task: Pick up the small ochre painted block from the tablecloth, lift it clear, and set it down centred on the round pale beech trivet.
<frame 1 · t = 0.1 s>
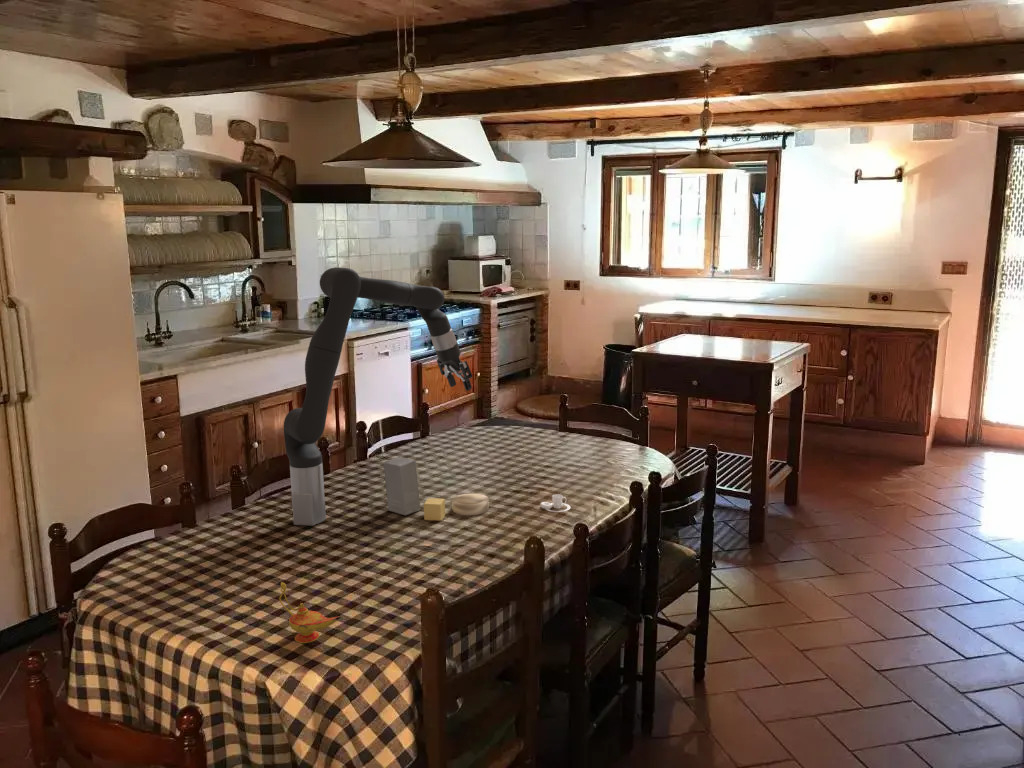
hand: (461, 387, 270), 31 cm above the table, tool tilted 20°, fingers open, 8 cm apart
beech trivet: (470, 508, 248), on the table
magic lamp: (313, 639, 172), on the table
ochre block: (434, 517, 242), on the table
teacup and saucer: (552, 506, 251), on the table
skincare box: (403, 511, 247), on the table
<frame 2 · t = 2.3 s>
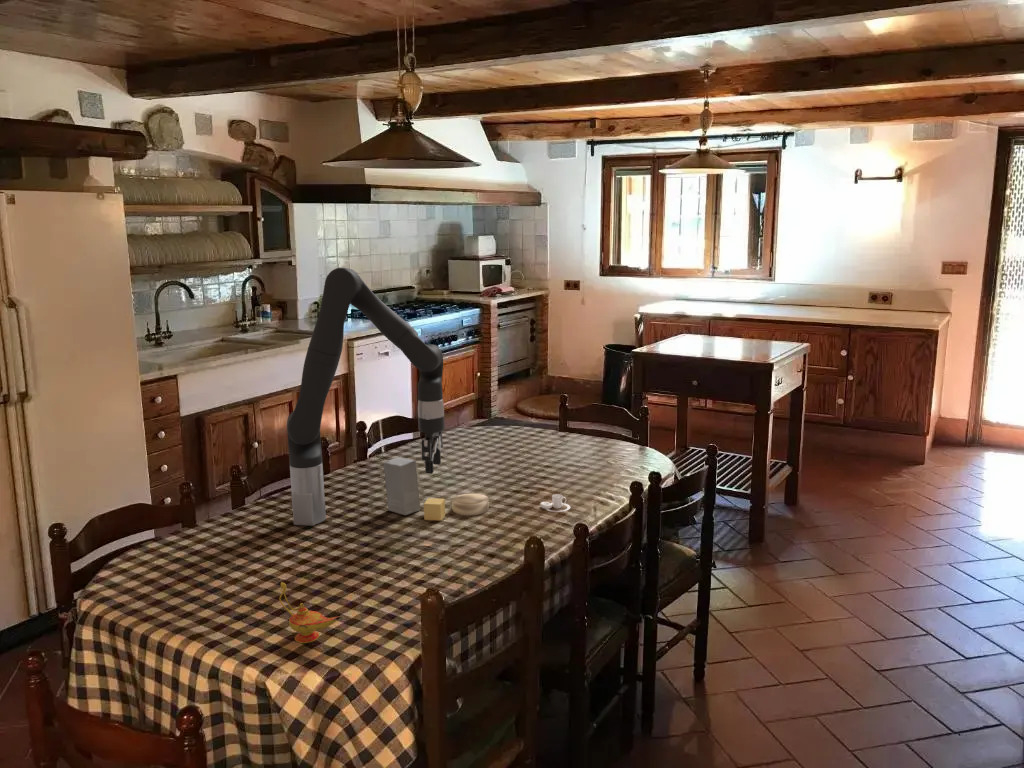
hand: (433, 468, 239), 15 cm above the table, tool pointing down, fingers open, 8 cm apart
nothing on the table moved.
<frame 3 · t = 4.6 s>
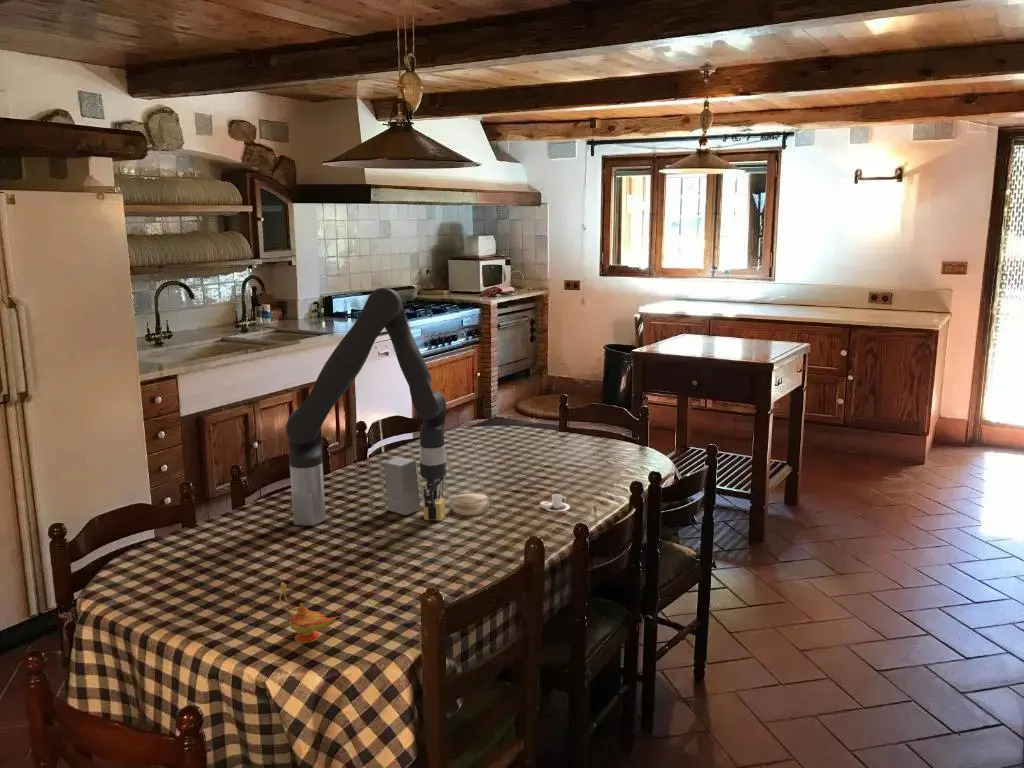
hand: (434, 515, 242), 0 cm above the table, tool pointing down, fingers closed on ochre block, 5 cm apart
ochre block: (434, 517, 242), on the table, touching gripper
everything else where it was.
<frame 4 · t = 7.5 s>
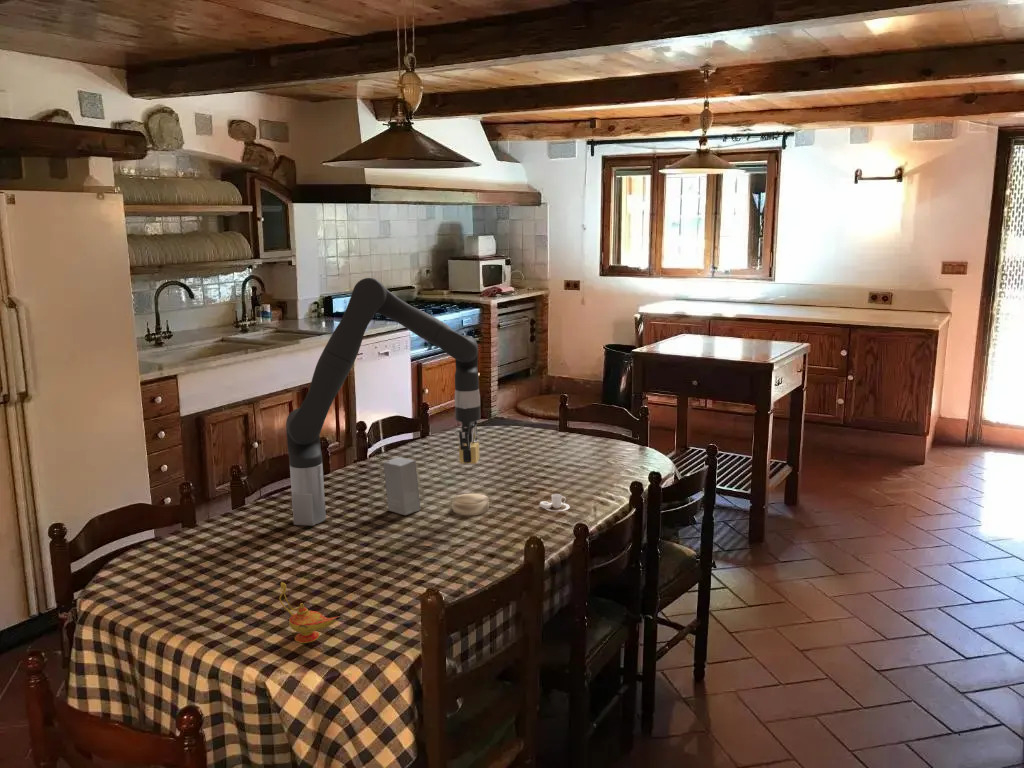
hand: (469, 459, 245), 16 cm above the table, tool pointing down, fingers closed on ochre block, 5 cm apart
ochre block: (469, 460, 245), point 15 cm above the table, touching gripper
everything else where it was.
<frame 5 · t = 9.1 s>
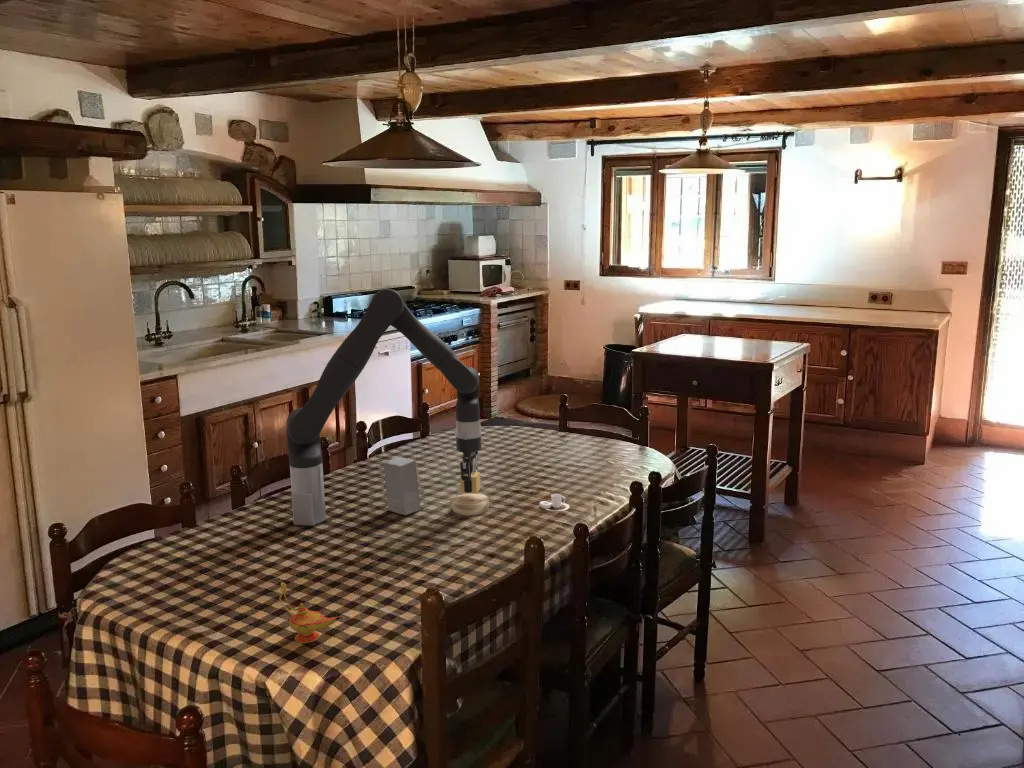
hand: (470, 488, 247), 6 cm above the table, tool pointing down, fingers closed on ochre block, 5 cm apart
ochre block: (470, 490, 247), point 6 cm above the table, touching gripper
everything else where it was.
when the fingers open (4 cm above the table, at t = 10.4 s): ochre block stays where it is, resting on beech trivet.
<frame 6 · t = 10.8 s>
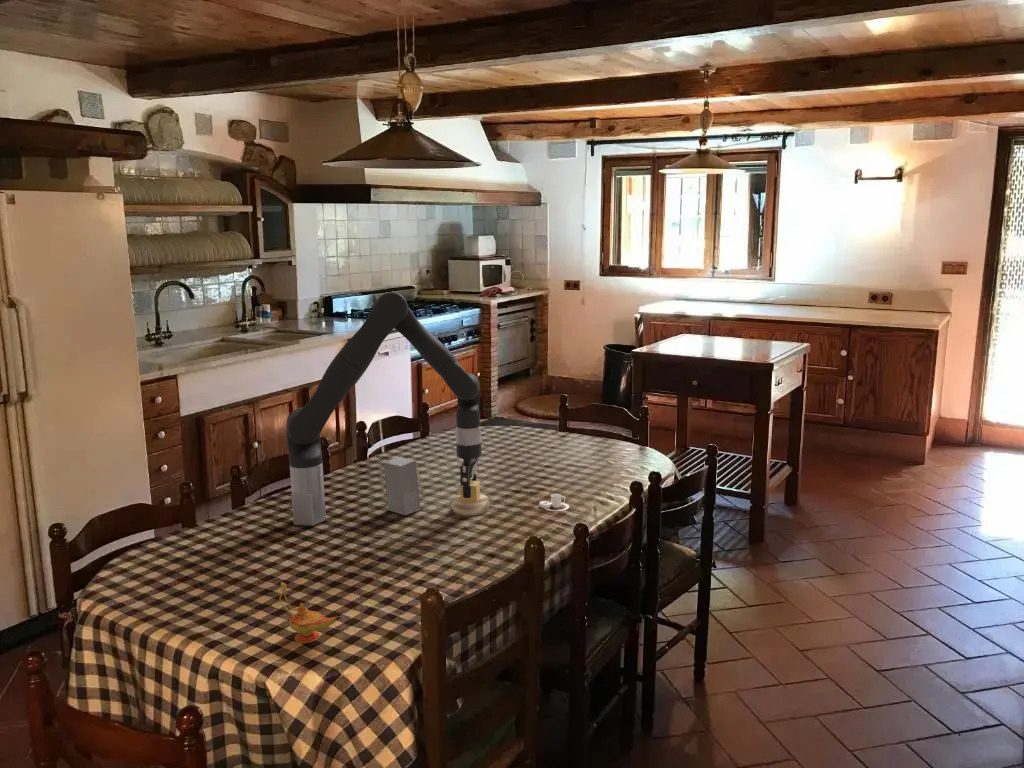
hand: (470, 492, 247), 5 cm above the table, tool pointing down, fingers open, 8 cm apart
ochre block: (470, 498, 247), point 3 cm above the table, touching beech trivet
everything else where it was.
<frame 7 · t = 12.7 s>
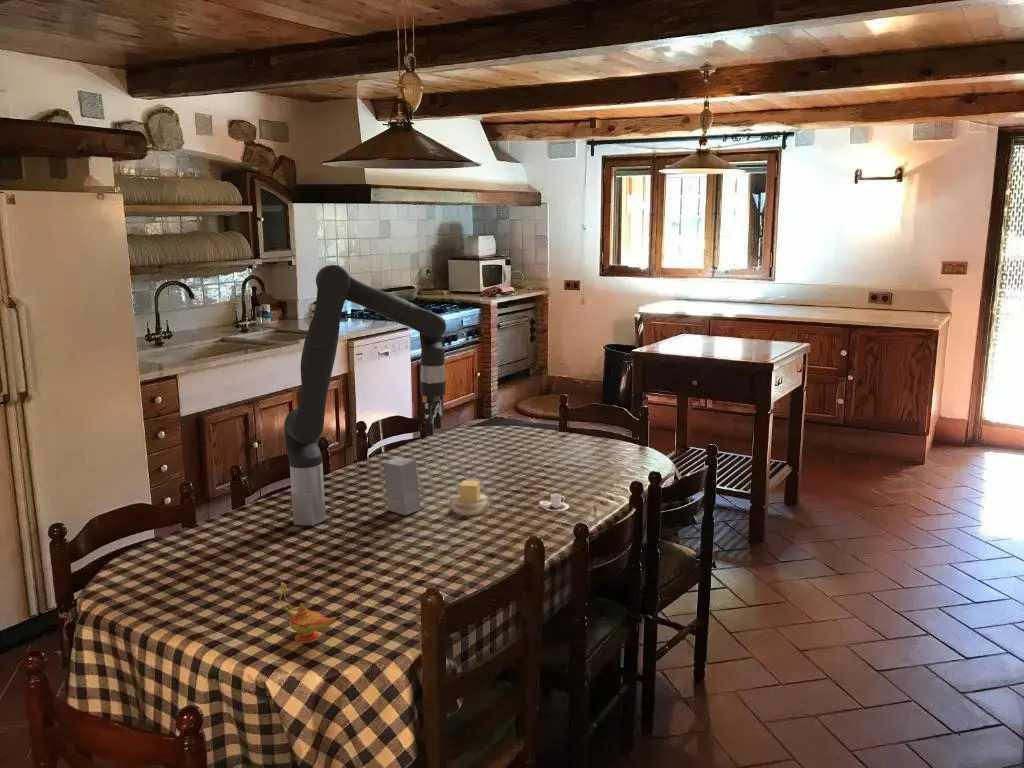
hand: (433, 431, 249), 23 cm above the table, tool pointing down, fingers open, 8 cm apart
nothing on the table moved.
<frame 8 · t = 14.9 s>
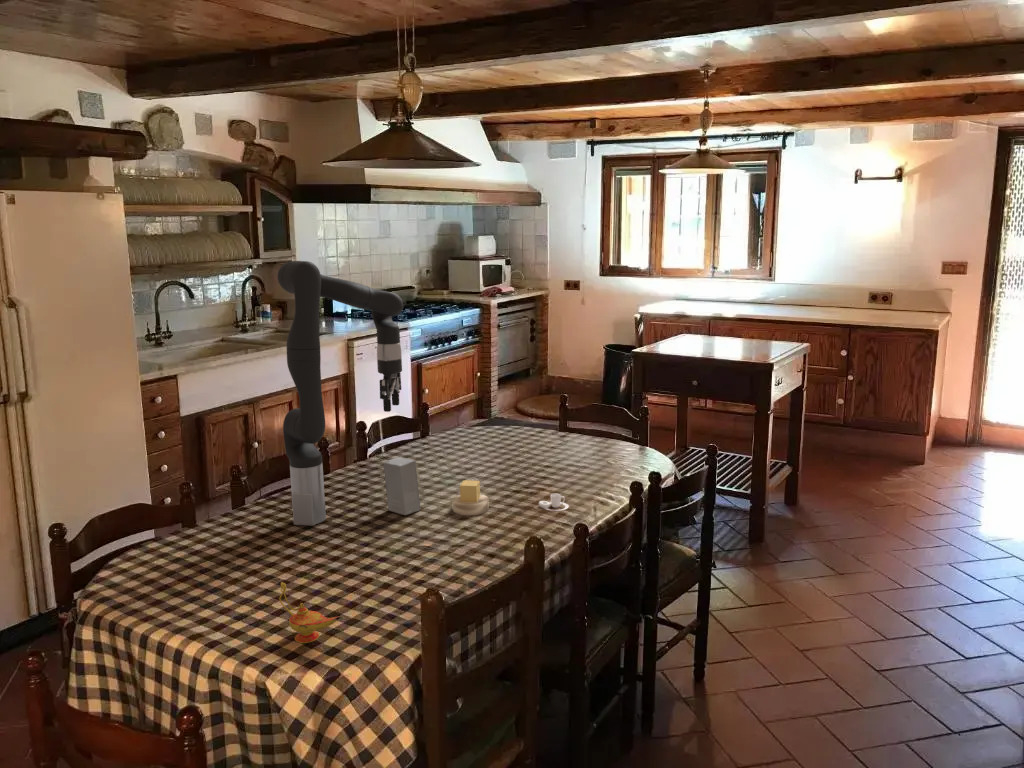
hand: (391, 408, 257), 28 cm above the table, tool pointing down, fingers open, 8 cm apart
at the end: ochre block inside the target area on the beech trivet (0.0 cm from its centre), point 3.1 cm above the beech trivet's base; ochre block tilted 0°; the gripper is holding nothing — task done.
